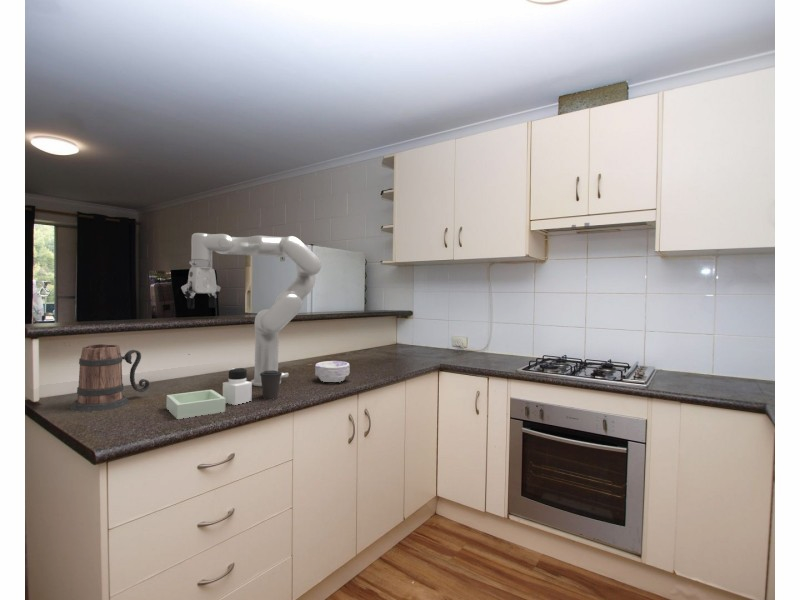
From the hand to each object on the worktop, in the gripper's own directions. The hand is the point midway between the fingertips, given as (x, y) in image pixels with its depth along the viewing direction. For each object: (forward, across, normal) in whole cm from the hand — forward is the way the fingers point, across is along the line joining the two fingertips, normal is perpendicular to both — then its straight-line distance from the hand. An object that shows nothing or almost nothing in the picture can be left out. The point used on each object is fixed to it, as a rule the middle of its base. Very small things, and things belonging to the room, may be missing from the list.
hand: (201, 307), depth 170 cm
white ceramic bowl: (+33, +40, -35) cm, 63 cm away
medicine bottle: (+32, -7, -27) cm, 43 cm away
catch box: (+32, -21, -24) cm, 45 cm away
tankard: (+32, -30, +7) cm, 45 cm away
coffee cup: (+33, +4, -33) cm, 46 cm away
